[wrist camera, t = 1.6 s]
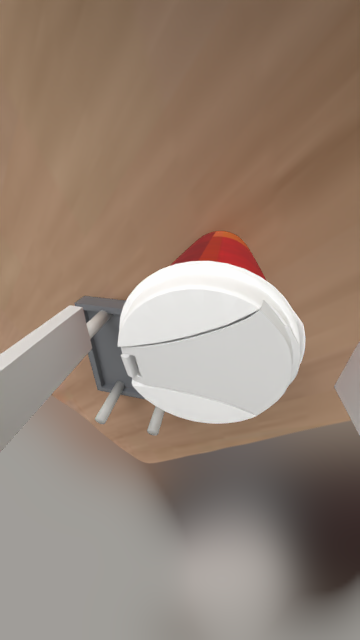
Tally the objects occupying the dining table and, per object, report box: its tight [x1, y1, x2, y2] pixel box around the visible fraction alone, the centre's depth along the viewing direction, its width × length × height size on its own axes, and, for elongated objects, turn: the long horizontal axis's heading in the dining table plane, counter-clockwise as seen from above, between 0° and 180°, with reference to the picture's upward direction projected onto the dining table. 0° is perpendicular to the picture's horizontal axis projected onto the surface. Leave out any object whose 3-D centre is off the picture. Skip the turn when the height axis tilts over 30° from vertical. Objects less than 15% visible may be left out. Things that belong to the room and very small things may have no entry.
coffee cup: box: [118, 231, 306, 424], centre depth 15 cm, size 8×8×15 cm
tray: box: [75, 296, 165, 435], centre depth 27 cm, size 15×14×7 cm
